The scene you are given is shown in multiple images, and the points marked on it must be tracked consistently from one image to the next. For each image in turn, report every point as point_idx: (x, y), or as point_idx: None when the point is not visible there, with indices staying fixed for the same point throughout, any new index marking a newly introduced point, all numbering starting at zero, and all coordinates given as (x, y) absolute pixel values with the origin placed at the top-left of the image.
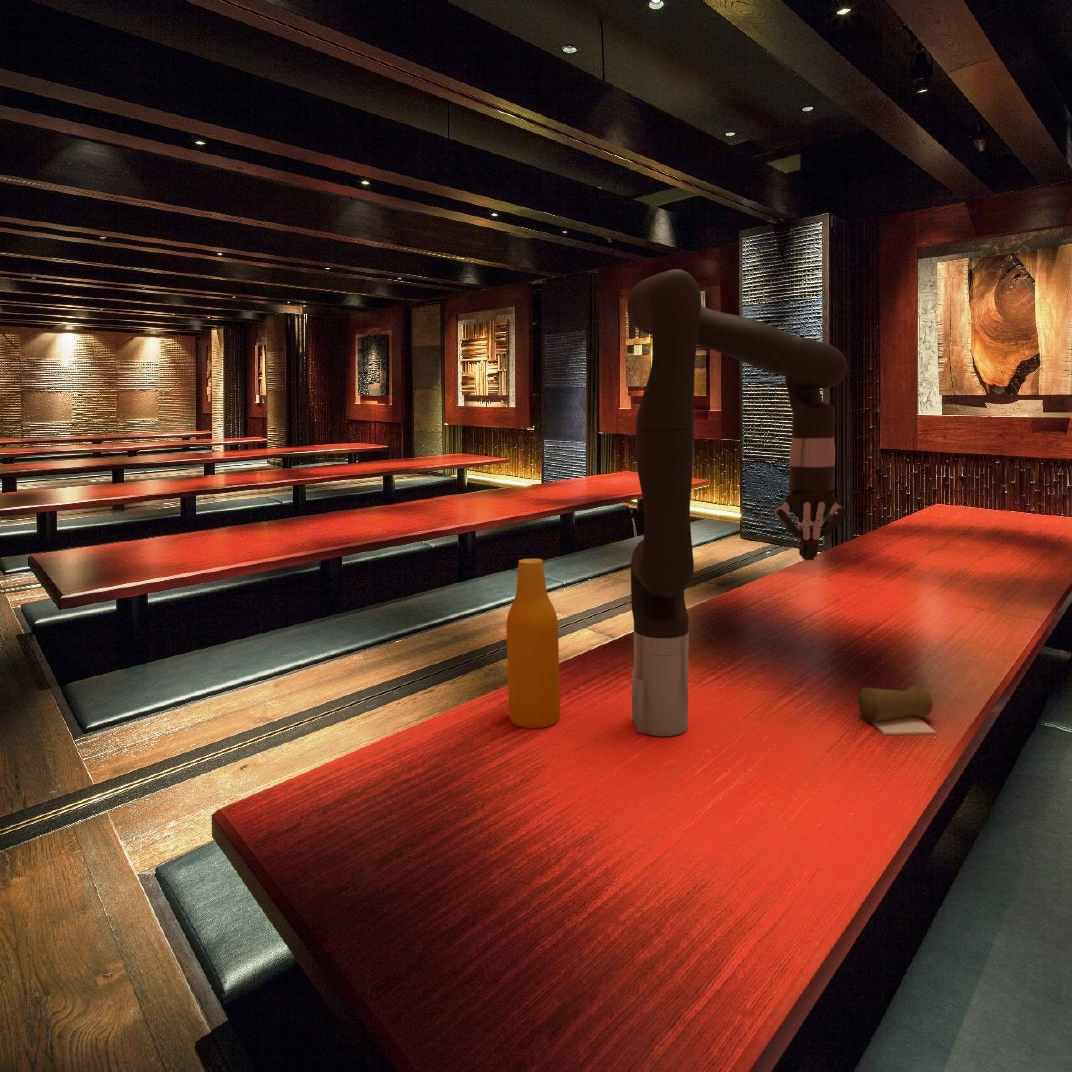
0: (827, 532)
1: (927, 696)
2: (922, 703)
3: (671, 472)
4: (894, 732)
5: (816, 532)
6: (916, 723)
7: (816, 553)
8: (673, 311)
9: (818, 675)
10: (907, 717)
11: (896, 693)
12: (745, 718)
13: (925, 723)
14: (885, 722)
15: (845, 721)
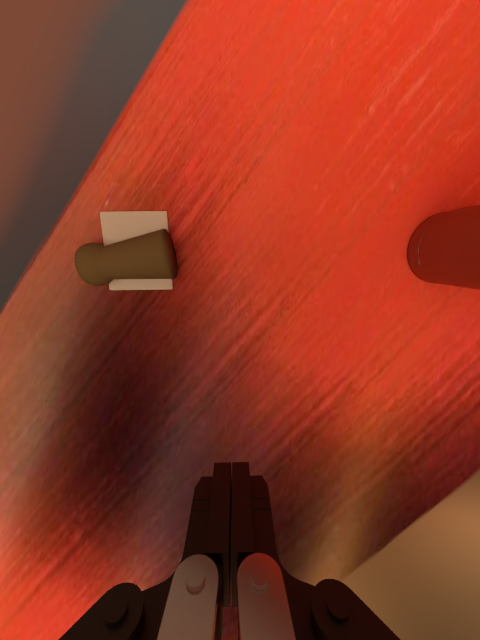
0: (107, 614)
1: (80, 249)
2: (93, 244)
3: None
4: (153, 211)
5: (190, 616)
6: (115, 239)
7: (199, 490)
8: None
9: (186, 407)
10: None
11: (123, 251)
12: (325, 270)
13: (103, 239)
14: None
15: (201, 256)
